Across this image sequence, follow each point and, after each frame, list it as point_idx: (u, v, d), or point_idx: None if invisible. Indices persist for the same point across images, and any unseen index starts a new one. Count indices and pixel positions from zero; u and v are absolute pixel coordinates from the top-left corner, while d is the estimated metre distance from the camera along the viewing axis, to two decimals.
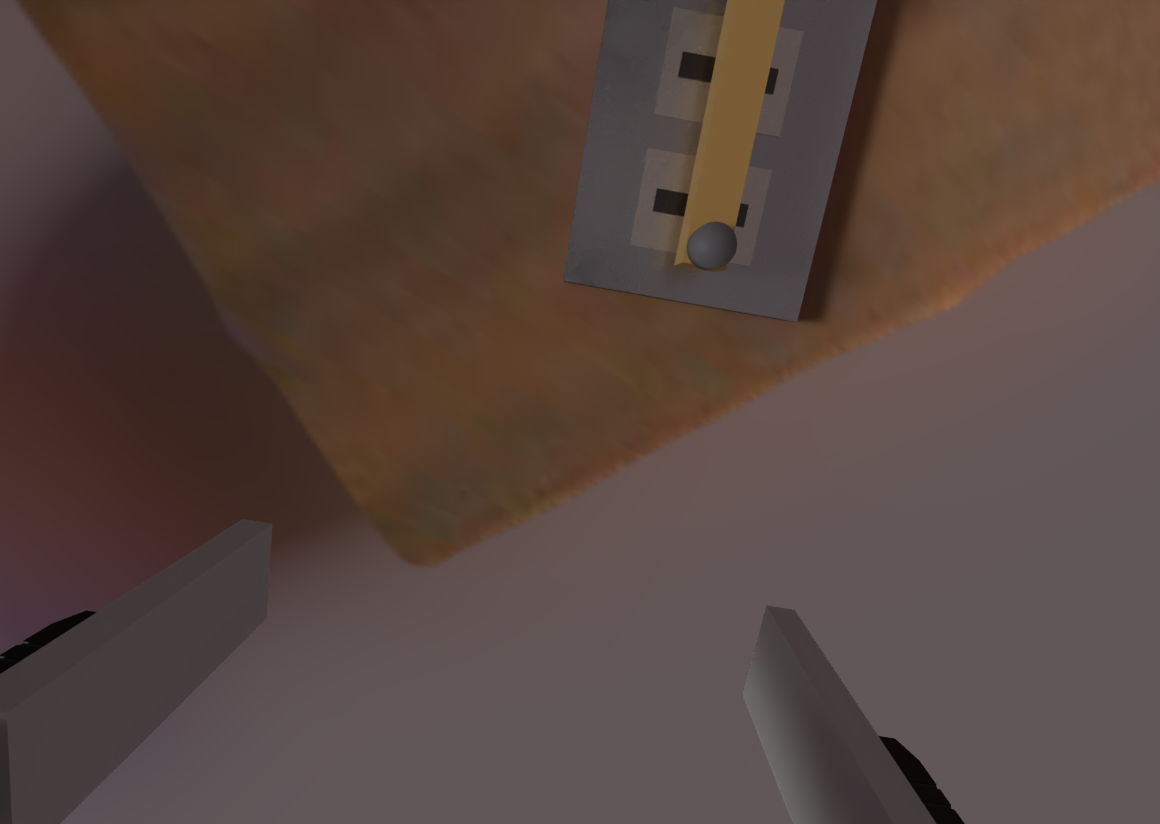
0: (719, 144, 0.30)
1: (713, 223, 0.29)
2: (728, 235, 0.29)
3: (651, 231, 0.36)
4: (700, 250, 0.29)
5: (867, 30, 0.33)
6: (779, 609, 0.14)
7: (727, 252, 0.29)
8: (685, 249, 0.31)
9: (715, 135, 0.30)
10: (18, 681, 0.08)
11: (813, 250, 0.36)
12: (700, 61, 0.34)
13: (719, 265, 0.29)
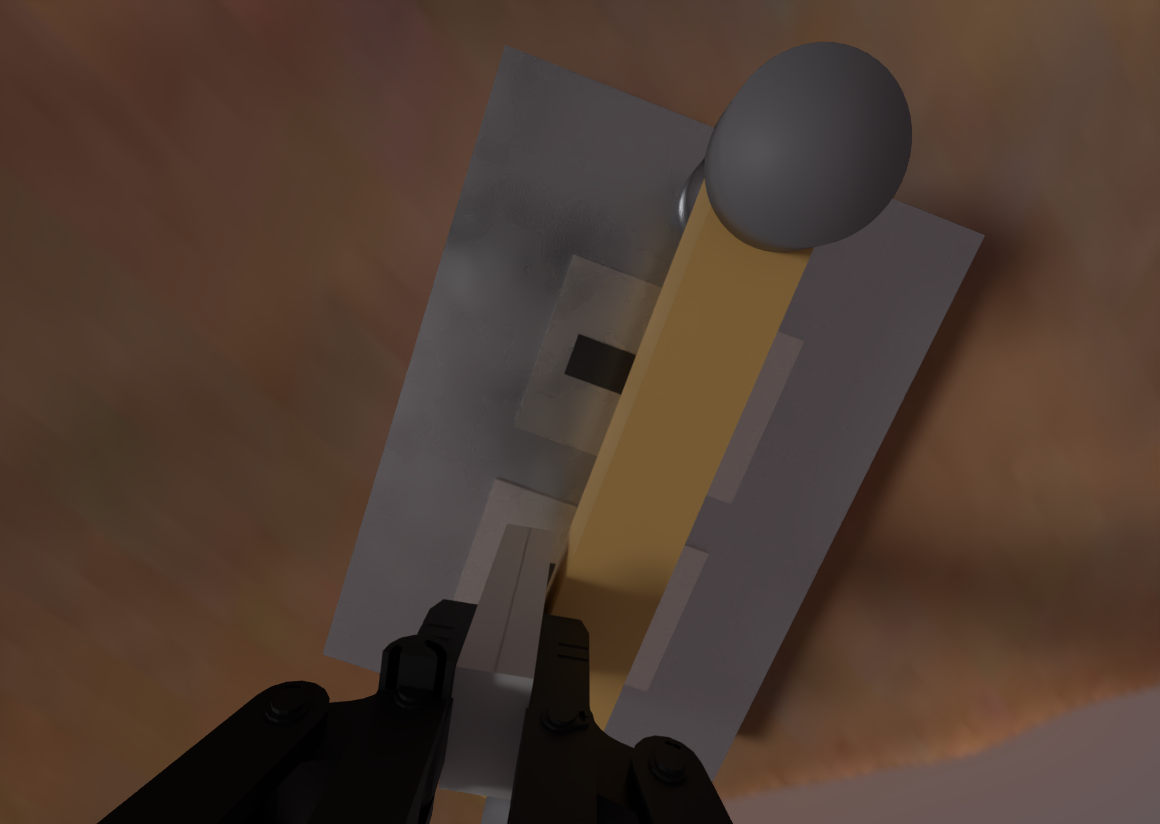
0: (580, 611, 0.14)
1: None
2: None
3: None
4: None
5: (919, 358, 0.18)
6: (540, 530, 0.16)
7: None
8: None
9: (573, 595, 0.14)
10: (480, 650, 0.11)
11: (758, 683, 0.21)
12: (609, 356, 0.18)
13: None
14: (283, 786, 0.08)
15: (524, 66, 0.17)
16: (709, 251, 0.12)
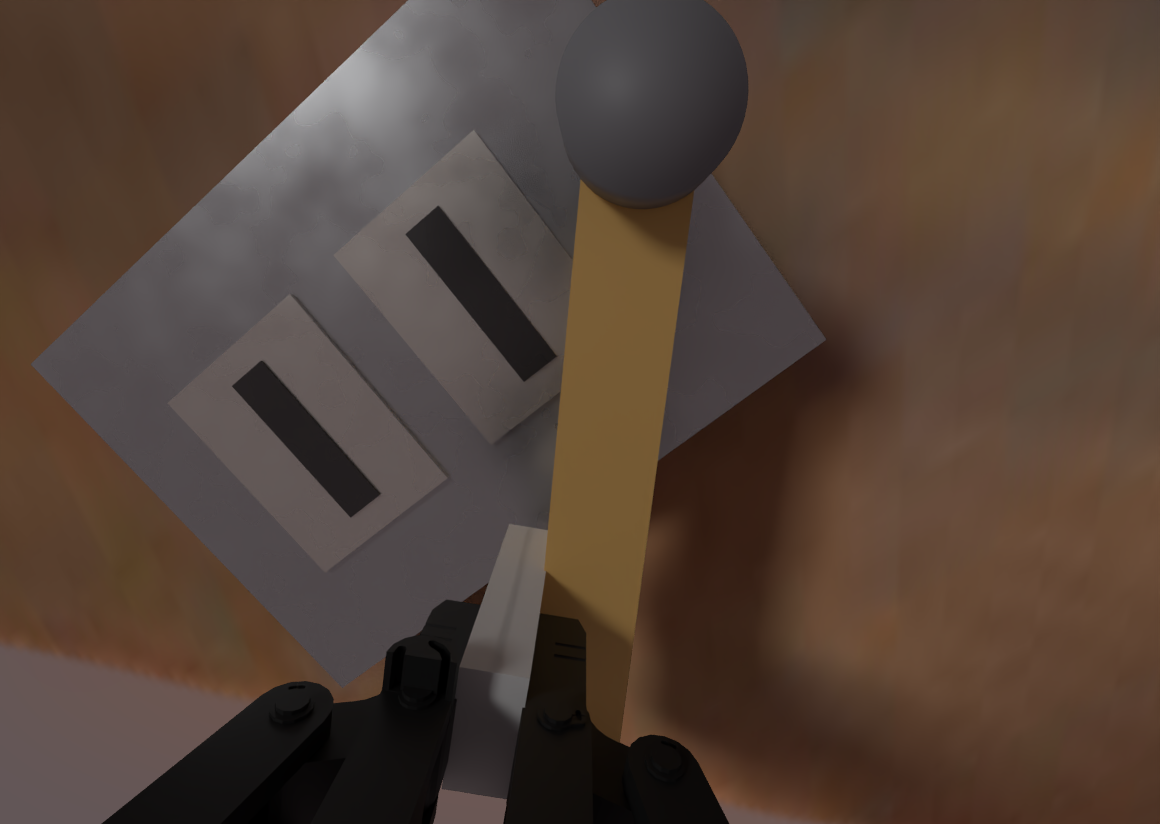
0: (567, 605, 0.14)
1: None
2: None
3: (212, 412, 0.19)
4: None
5: (717, 413, 0.19)
6: (537, 530, 0.16)
7: None
8: None
9: (556, 590, 0.14)
10: (484, 650, 0.11)
11: None
12: (455, 244, 0.18)
13: None
14: (287, 786, 0.08)
15: None
16: (591, 224, 0.12)
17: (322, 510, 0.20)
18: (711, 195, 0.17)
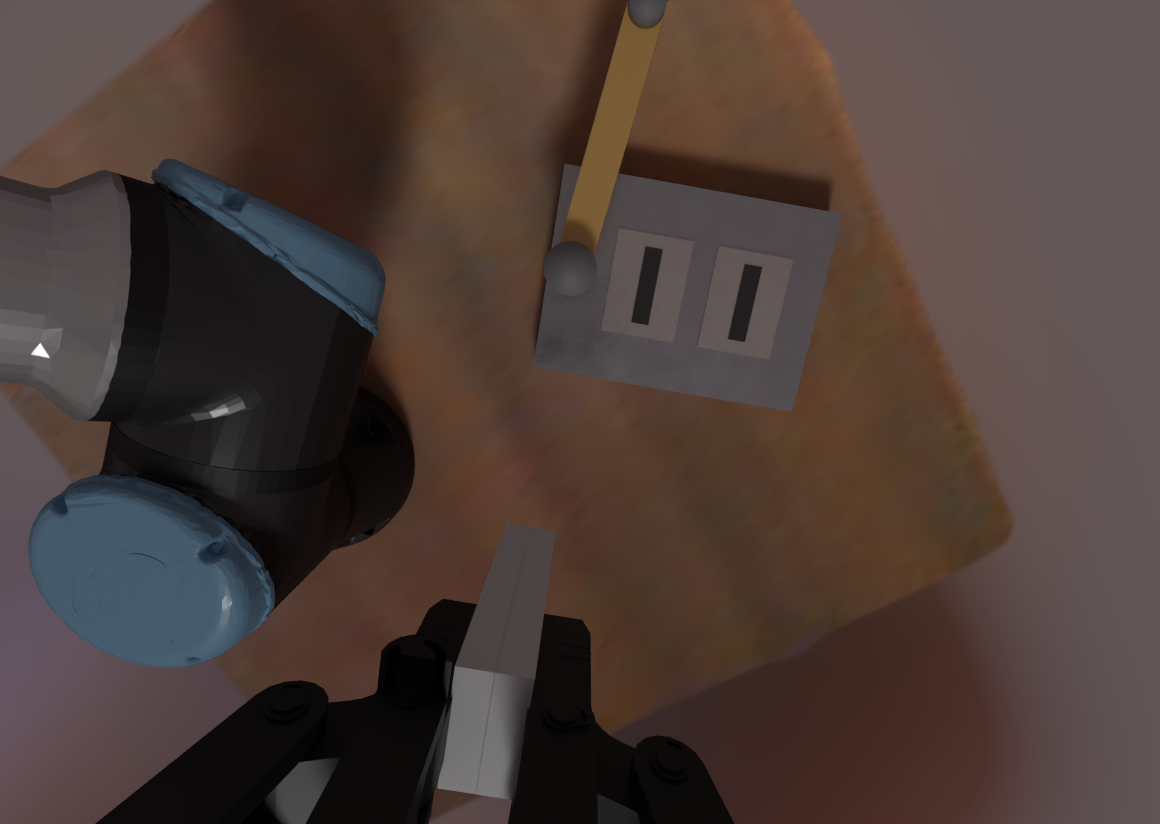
0: (628, 98, 0.36)
1: (647, 14, 0.34)
2: (636, 1, 0.34)
3: (760, 342, 0.45)
4: None
5: None
6: (541, 530, 0.16)
7: None
8: (665, 9, 0.35)
9: (631, 106, 0.36)
10: (479, 650, 0.11)
11: (783, 204, 0.43)
12: (638, 308, 0.44)
13: None
14: (282, 786, 0.08)
15: (538, 359, 0.45)
16: (592, 242, 0.38)
17: (768, 279, 0.44)
18: (556, 243, 0.43)
